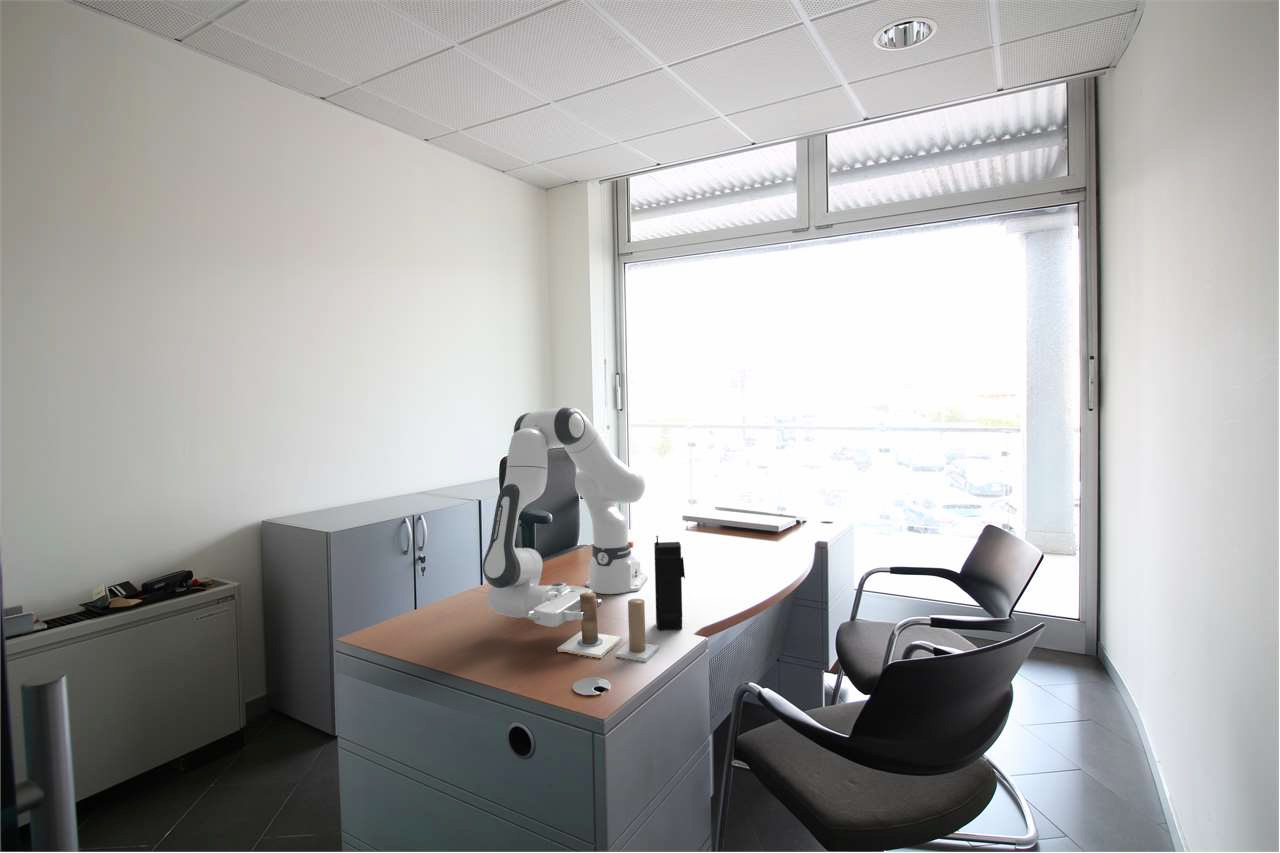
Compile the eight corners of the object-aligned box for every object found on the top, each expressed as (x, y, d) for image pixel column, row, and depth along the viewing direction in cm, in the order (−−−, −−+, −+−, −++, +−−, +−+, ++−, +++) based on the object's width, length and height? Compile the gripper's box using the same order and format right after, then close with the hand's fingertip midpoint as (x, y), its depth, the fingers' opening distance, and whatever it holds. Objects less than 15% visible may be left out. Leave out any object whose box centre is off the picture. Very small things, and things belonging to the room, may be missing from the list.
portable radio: (684, 621, 187) (682, 531, 185) (686, 629, 181) (684, 536, 179) (655, 622, 187) (653, 532, 185) (657, 630, 181) (654, 537, 179)
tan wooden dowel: (629, 645, 171) (628, 594, 170) (658, 649, 168) (657, 598, 167) (615, 657, 164) (614, 604, 163) (646, 662, 161) (644, 608, 160)
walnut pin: (587, 637, 174) (584, 591, 173) (600, 639, 172) (598, 593, 171) (579, 643, 170) (576, 596, 169) (593, 645, 169) (591, 598, 167)
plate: (580, 634, 179) (580, 630, 179) (622, 640, 174) (621, 636, 174) (557, 651, 168) (557, 647, 168) (600, 658, 163) (600, 654, 163)
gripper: (521, 604, 166) (571, 610, 160) (564, 580, 185) (609, 585, 179) (522, 629, 167) (572, 636, 161) (564, 603, 185) (610, 609, 180)
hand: (592, 609), depth 170 cm, fingers open, 8 cm apart
